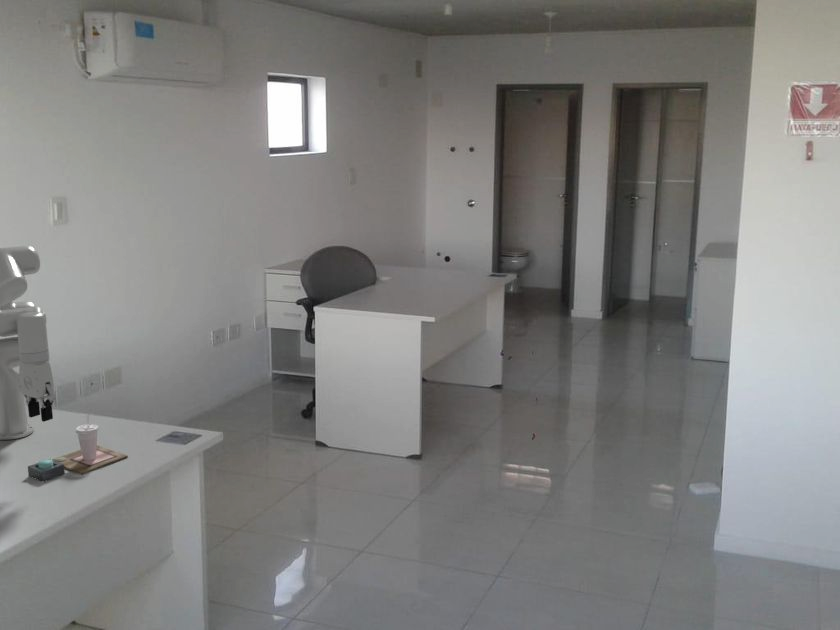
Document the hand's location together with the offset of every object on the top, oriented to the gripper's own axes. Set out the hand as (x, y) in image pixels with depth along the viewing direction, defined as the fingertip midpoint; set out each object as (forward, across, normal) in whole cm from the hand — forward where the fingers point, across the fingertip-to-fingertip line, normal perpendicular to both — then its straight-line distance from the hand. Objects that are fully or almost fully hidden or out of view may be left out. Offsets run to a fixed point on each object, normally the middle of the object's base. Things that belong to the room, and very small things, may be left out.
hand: (40, 417), depth 264 cm
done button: (+17, 0, 0) cm, 17 cm away
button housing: (+17, 0, 0) cm, 17 cm away
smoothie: (+17, +1, +14) cm, 22 cm away
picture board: (+17, 0, +14) cm, 22 cm away
